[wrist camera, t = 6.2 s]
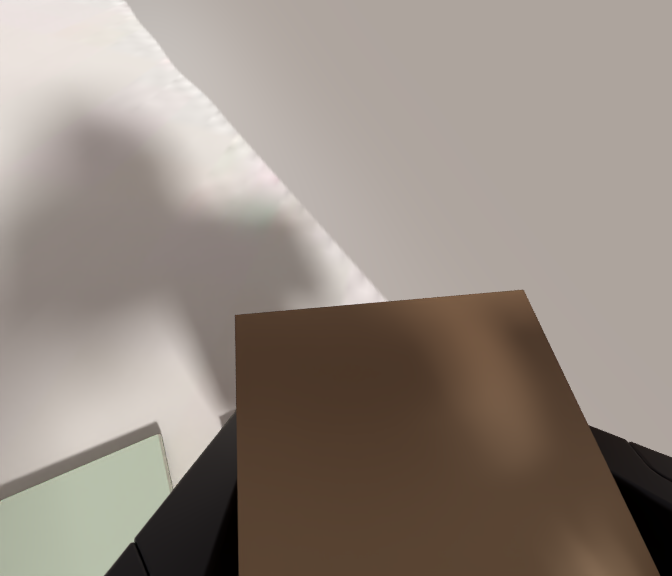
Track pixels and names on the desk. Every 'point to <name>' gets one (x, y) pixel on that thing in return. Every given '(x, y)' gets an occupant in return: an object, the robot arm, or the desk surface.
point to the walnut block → (419, 447)
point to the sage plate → (84, 514)
